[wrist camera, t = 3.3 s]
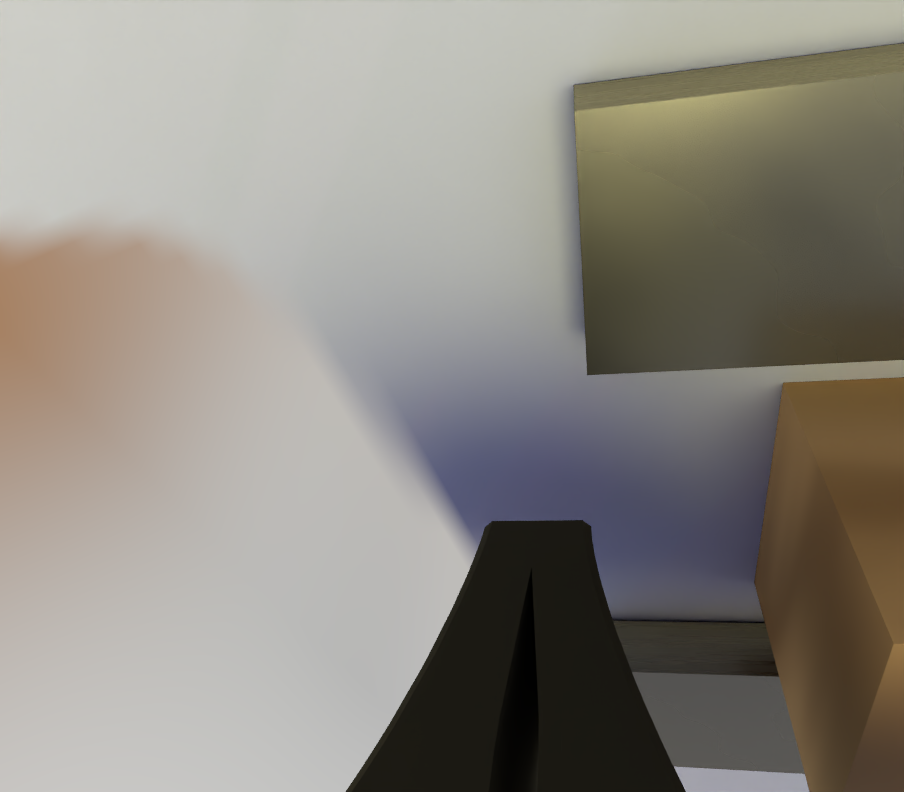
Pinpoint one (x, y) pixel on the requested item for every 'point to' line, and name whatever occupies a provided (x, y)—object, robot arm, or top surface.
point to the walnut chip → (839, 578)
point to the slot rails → (738, 298)
